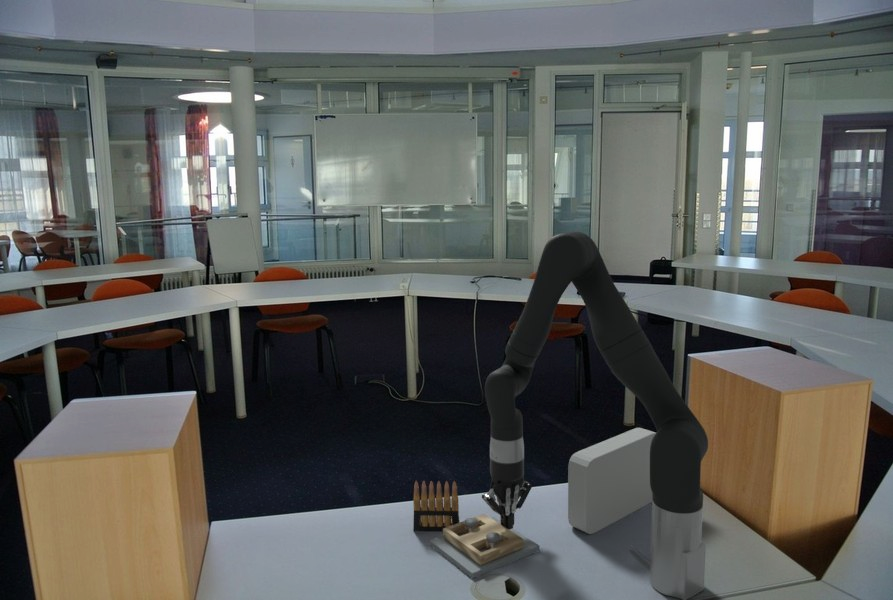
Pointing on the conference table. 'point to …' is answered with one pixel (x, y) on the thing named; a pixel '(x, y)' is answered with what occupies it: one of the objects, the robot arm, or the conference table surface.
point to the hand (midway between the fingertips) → (507, 527)
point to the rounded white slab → (609, 480)
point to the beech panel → (483, 539)
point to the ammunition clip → (435, 508)
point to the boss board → (472, 566)
